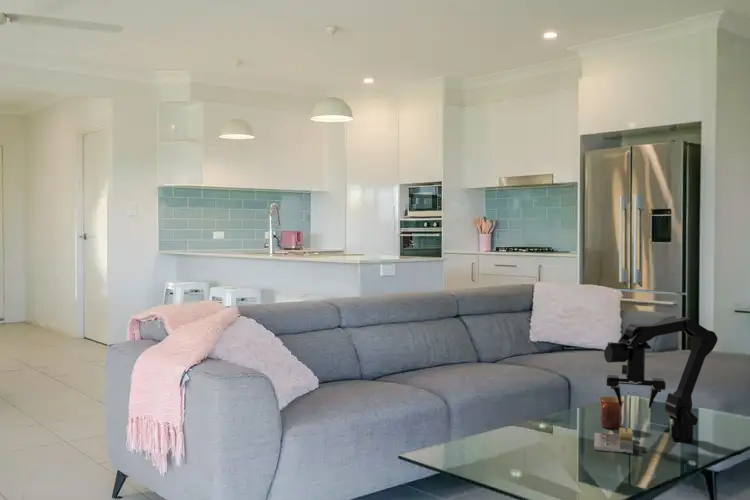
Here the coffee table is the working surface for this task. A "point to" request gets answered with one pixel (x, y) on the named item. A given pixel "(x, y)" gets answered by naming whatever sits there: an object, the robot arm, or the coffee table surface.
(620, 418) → the mug
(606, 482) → the coffee table surface
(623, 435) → the block
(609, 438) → the steel hinge plate
